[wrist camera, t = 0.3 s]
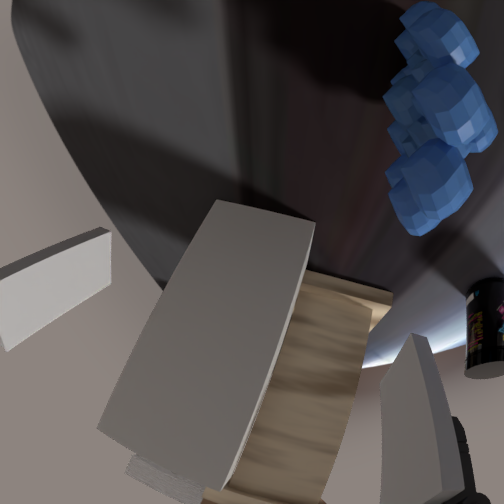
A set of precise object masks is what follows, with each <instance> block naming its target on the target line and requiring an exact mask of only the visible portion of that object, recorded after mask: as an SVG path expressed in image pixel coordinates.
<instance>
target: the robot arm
mask: <svg viewBox="0 0 504 504" xmlns="http://www.w3.org/2000/svg"><path fill="white" fill-rule="evenodd" d="M110 284H111V231H109V230H107V229H104V228H102V227H99V228H96V229H93V230H91V231H88V232H86V233H83V234H80V235H78V236H75V237H72V238H70V239H67V240H65V241H62V242H60V243H57V244H55V245H52V246H50V247H47V248H45V249H43V250H40V251H38V252H36V253H33V254H31V255H29V256H26V257H24V258H22V259H20V260H17V261H15V262H13V263H11V264H9V265H6V266H4V267H2V268H0V345H1V346H2V347H3V348H4V350H5V351H6V352H8V351H9V350H10V349H12V348H13V347H14V346H16V345H17V344H19V343H20V342H22V341H23V340H25V339H26V338H28V337H29V336H31V335H32V334H34V333H35V332H37V331H38V330H40V329H41V328H43V327H44V326H46V325H47V324H48V323H50V322H52V321H53V320H55V319H56V318H58V317H59V316H61V315H62V314H64V313H65V312H67V311H69V310H70V309H72V308H73V307H75V306H76V305H78V304H80V303H81V302H83V301H84V300H86V299H87V298H89V297H91V296H92V295H94V294H95V293H97V292H98V291H100V290H102V289H104V288H105V287H107V286H108V285H110ZM380 397H381V419H382V474H381V495H380V504H491V503H490V500H489V499H488V498H487V496H486V495H484V494H482V493H477V492H476V488H475V481H474V474H473V468H472V463H471V458H470V454H468V453H469V448H468V444H466V442H467V439H466V435H465V431H464V428H463V427H462V424H461V423H460V421H459V420H458V418H457V417H453V416H451V413H450V409H449V405H448V402H447V398H446V395H445V391H444V388H443V384H442V381H441V378H440V374H439V371H438V368H437V365H436V362H435V359H434V356H433V353H432V351H431V348H430V345H429V342H428V340H427V337H424V336H420V335H417V334H413V333H410V335H409V337H408V339H407V340H406V342H405V344H404V346H403V347H402V349H401V351H400V352H399V354H398V356H397V357H396V359H395V360H394V362H393V364H392V365H391V367H390V368H389V370H388V371H387V373H386V374H385V376H384V378H383V379H382V380H381V382H380Z"/></svg>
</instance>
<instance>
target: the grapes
mask: <svg viewBox="0 0 504 504" xmlns="http://www.w3.org/2000/svg"><path fill="white" fill-rule="evenodd" d="M399 19H400V21H401V22H402V23H403V25H404V26H405V28H406V29H405V30H404V31H403V32H402V33H401V34H400V35H399V36H398V37H397V38H396V39H395V40H394V42H395V44H396V45H397V47H398V48H399V50H400V51H401V53H402V54H403V56H404V57H405V59H406V60H407V64H408V65H407V66H406V67H405V68H403V69H402V70H401V71H400V72H399V73H398V74H397V75H396V76H395V77H394V78H393V79H392V80H391V81H390V82H391V84H392V85H393V86H392V87H391V88H390V89H389V90H388V91H387V92H386V93H385V94H384V96H383V99H384V101H385V103H386V105H387V106H388V108H389V110H390V111H391V113H392V114H393V116H394V118H395V119H396V120H395V121H394V122H393V123H392V124H391V125H390V126H389V127H388V128H387V130H388V132H389V134H390V137H391V139H392V140H393V142H394V144H395V146H396V147H397V149H398V151H399V152H400V154H401V155H402V156H400V157H399V158H398V159H397V160H396V161H395V162H394V163H393V164H392V165H391V166H390V167H389V168H388V169H387V170H386V171H385V174H386V176H387V178H388V181H389V183H390V185H391V187H392V189H391V191H390V192H389V193H388V195H389V198H390V200H391V203H392V205H393V208H394V210H395V212H396V215H397V217H398V219H399V221H400V222H401V223H402V225H403V226H404V227H405V229H406V230H407V231H408V232H409V233H410V235H416V236H422V235H424V234H426V233H427V232H429V231H431V230H432V229H434V228H435V227H436V226H437V225H438V224H439V223H440V222H441V220H442V219H445V218H446V217H448V216H450V215H451V214H453V213H454V212H456V211H457V210H458V209H459V208H460V207H461V206H462V204H463V203H464V202H465V201H466V199H467V198H468V197H469V195H470V194H471V192H472V191H473V185H472V181H471V178H470V175H469V171H468V168H467V165H466V163H465V161H464V159H463V158H465V157H466V156H467V155H468V153H469V152H471V153H476V152H482V151H483V150H485V149H486V148H487V147H488V146H490V144H491V143H492V141H493V140H494V138H495V137H496V135H497V133H498V130H497V126H496V123H495V120H494V117H493V114H492V112H491V110H490V109H489V107H488V106H487V104H486V101H485V99H484V96H483V94H482V92H481V89H480V87H479V86H478V85H477V83H476V82H475V81H474V79H473V78H472V77H471V76H470V74H469V73H468V72H467V71H466V70H465V68H466V67H467V66H469V65H470V64H471V63H472V62H473V61H474V60H475V59H476V57H477V56H478V55H479V53H480V52H479V50H478V48H477V45H476V43H475V41H474V39H473V37H472V36H471V34H470V32H469V31H468V29H467V27H466V26H465V25H464V23H463V22H462V20H461V19H459V18H458V17H457V16H456V15H455V14H454V13H453V12H452V11H450V10H446V9H442V8H441V7H439V6H438V5H437V4H436V3H435V2H429V1H420V2H418V3H416V4H414V5H412V6H411V7H410V8H409V9H408V10H407V11H406V12H405V13H404V14H403V15H402V16H401V17H400V18H399Z"/></svg>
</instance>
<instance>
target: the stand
mask: <svg viewBox="0 0 504 504" xmlns="http://www.w3.org/2000/svg"><path fill="white" fill-rule="evenodd" d="M392 300H393V293H391V292H388V291H384V290H380V289H376V288H373V287H369V286H365V285H361V284H358V283H354V282H350V281H346V280H343V279H339V278H335V277H332V276H328V275H324V274H320V273H317V272H313V271H309V270H306V269H305V273H304V276H303V280H302V283H301V286H300V290H299V293H298V296H297V299H296V303H295V306H294V309H293V312H292V314H293V315H292V318H291V321H290V324H289V328H288V331H287V334H286V337H285V340H284V343H283V346H282V349H281V352H280V355H279V358H278V360H277V363H276V366H275V369H274V372H273V375H272V378H271V381H270V383H269V386H268V389H267V392H266V394H265V397H264V400H263V402H262V405H261V408H260V410H259V413H258V416H257V418H256V421H255V423H254V426H253V428H252V431H251V434H250V436H249V438H248V441H247V443H246V446H245V448H244V451H243V453H242V456H241V458H240V461H239V463H238V465H237V467H236V470H235V472H234V474H233V475H232V476H231V478H230V479H229V481H228V482H227V483H226V485H225V486H224V487H223V489H222V490H221V491H220V492H219V491H216V490H213V489H210V488H208V487H206V488H205V490H204V492H203V494H202V498H203V499H202V502H201V504H326V503H325V502H324V501H323V500H322V499H321V495H322V493H323V491H324V488H325V486H326V483H327V481H328V478H329V475H330V473H331V470H332V468H333V465H334V462H335V459H336V457H337V454H338V451H339V448H340V445H341V442H342V439H343V436H344V432H345V429H346V426H347V423H348V419H349V416H350V412H351V409H352V405H353V401H354V398H355V394H356V390H357V386H358V381H359V377H360V373H361V369H362V364H363V360H364V355H365V350H366V345H367V340H368V334H369V332H370V331H371V330H372V329H373V327H374V326H375V325H376V324H377V323H378V322H379V321H380V320H381V319H382V317H383V316H384V315H385V314H386V313H387V312H388V311H389V309H390V308H391V307H392Z"/></svg>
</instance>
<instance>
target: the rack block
mask: <svg viewBox="0 0 504 504" xmlns="http://www.w3.org/2000/svg"><path fill="white" fill-rule="evenodd" d="M315 223H316V222H312V221H308V220H304V219H300V218H296V217H292V216H288V215H284V214H280V213H275V212H271V211H267V210H263V209H258V208H254V207H249V206H245V205H240V204H236V203H231V202H227V201H222V200H217V199H216V201H215V203H214V204H213V206H212V207H211V209H210V211H209V212H208V214H207V216H206V217H205V219H204V221H203V222H202V224H201V226H200V227H199V229H198V231H197V232H196V234H195V236H194V238H193V239H192V241H191V243H190V244H189V246H188V248H187V250H186V251H185V253H184V255H183V257H182V258H181V260H180V262H179V264H178V265H177V267H176V269H175V271H174V273H173V274H172V276H171V278H170V280H169V282H168V283H167V285H166V287H165V289H164V291H163V293H162V295H161V297H160V298H159V300H158V302H157V304H156V306H155V308H154V309H153V311H152V313H151V315H150V317H149V319H148V321H147V323H146V325H145V327H144V329H143V331H142V332H141V334H140V336H139V338H138V340H137V342H136V345H135V346H134V349H133V350H132V353H131V355H130V356H129V359H128V361H127V363H126V365H125V367H124V369H123V371H122V373H121V375H120V377H119V379H118V382H117V384H116V386H115V388H114V390H113V393H112V395H111V397H110V399H109V401H108V403H107V406H106V408H105V410H104V412H103V415H102V417H101V419H100V422H99V424H98V426H97V429H98V430H100V431H101V432H103V433H104V434H106V435H107V436H109V437H110V438H112V439H113V440H115V441H117V442H118V443H120V444H121V445H123V446H125V447H126V448H128V449H129V450H131V451H133V452H135V453H136V454H138V455H140V456H142V457H144V458H145V459H147V460H149V461H151V462H153V463H155V464H157V465H159V466H161V467H163V468H165V469H167V470H169V471H171V472H173V473H175V474H177V475H179V476H182V477H184V478H186V479H188V480H191V481H193V482H195V483H198V484H200V485H203V486H205V487H208V488H210V489H213V490H216V491H219V492H220V491H221V490H222V489H223V487H224V486H225V485H226V483H227V482H228V481H229V479H230V478H231V476H232V474H233V472H234V470H235V467H236V465H237V462H238V460H239V458H240V455H241V453H242V450H243V448H244V446H245V443H246V441H247V438H248V436H249V433H250V431H251V428H252V426H253V423H254V420H255V418H256V415H257V412H258V410H259V407H260V405H261V402H262V399H263V397H264V394H265V391H266V389H267V386H268V383H269V380H270V377H271V374H272V372H273V369H274V366H275V363H276V360H277V358H278V355H279V352H280V349H281V346H282V343H283V340H284V337H285V334H286V331H287V328H288V325H289V322H290V318H291V315H292V312H293V309H294V306H295V303H296V299H297V296H298V293H299V290H300V286H301V283H302V280H303V276H304V273H305V269H306V266H307V262H308V257H309V252H310V248H311V243H312V238H313V233H314V228H315Z"/></svg>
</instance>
